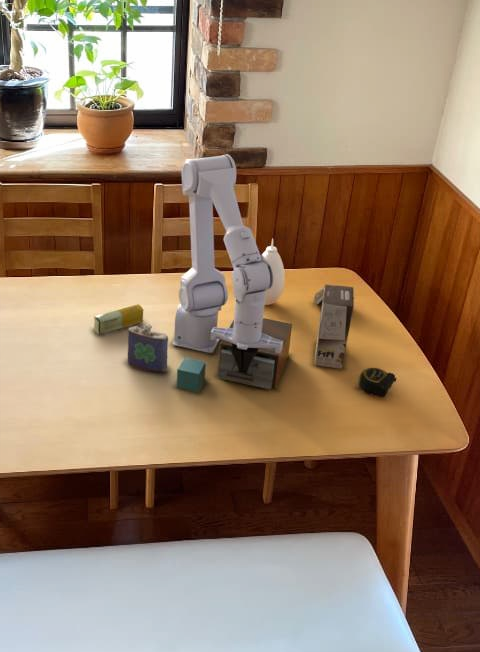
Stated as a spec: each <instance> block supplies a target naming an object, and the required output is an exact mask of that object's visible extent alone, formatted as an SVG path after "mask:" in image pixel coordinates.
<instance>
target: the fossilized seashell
mask: <svg viewBox="0 0 480 652" xmlns="http://www.w3.org/2000/svg"><path fill="white" fill-rule="evenodd" d="M324 288H325V285H323V287H322V288H320V289H318V290H317V291H316V293H315V294H314V299H313V300H314V301H313V302H314V305H316V306H319V307H322V301H323V295H324Z"/></svg>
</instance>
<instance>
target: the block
mask: <svg viewBox="0 0 480 652" xmlns="http://www.w3.org/2000/svg"><path fill="white" fill-rule="evenodd" d="M206 367H207V362H206V361H202V360H198V359H193V358H189V357H183V359H182V361H181V362H180V364H179V366H178V367H177V369H176V370H177V371H176V389H181V390H184V391H185V390H187V391H190V392H194V393H199V392H200V390H201V388H202V386H203V384H204V382H205V380H206Z"/></svg>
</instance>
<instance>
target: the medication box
mask: <svg viewBox="0 0 480 652" xmlns="http://www.w3.org/2000/svg"><path fill="white" fill-rule="evenodd" d="M143 322H144V308H143V307H142V306H141V304H139V303H137V304H133V305H130V306H127V307H122V308H119V309H116V310H112V311H109V312H106V313H102V314H98V315H94V317H93V330H94V332H95V333H96V334H97V335H98V336H99V335H102V334H105V333H108V332H112V331H115V330H120V329H122V328H126V327H131V326H133V325H136V324H141V323H143Z"/></svg>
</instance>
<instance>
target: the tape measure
mask: <svg viewBox="0 0 480 652" xmlns="http://www.w3.org/2000/svg"><path fill="white" fill-rule="evenodd" d="M397 379H398V378H396V374H394V372H393V373H392V372H387V371H386V370H384V369H382V368H379V367H368V368H365V369H364V370H363V371H362V372H361V373H360V375H359V378H358V386H359V388H360V390H361V391H362V392H363V393H365V394H367V395H370V396H374V397H379V398H386V396H387V394H388V391H389V390H390V389H391V388H392V386H393V384H394V382H395V383H396V382H397Z"/></svg>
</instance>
